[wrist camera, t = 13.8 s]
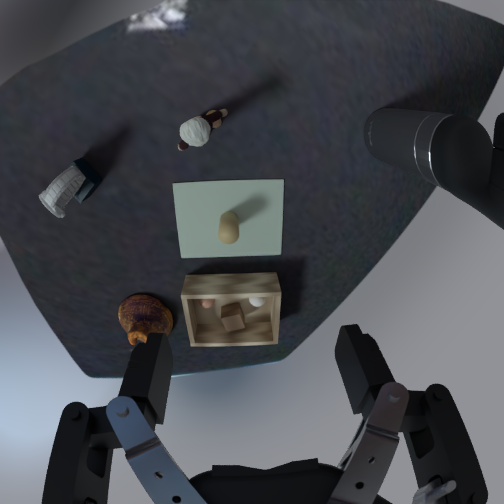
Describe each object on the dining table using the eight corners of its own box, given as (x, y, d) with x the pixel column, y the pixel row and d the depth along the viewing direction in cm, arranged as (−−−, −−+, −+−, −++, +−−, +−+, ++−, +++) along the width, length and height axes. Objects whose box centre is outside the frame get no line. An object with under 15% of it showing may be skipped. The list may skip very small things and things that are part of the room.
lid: (283, 178, 42) (290, 189, 37) (280, 252, 48) (286, 271, 43) (173, 182, 41) (164, 193, 36) (182, 255, 48) (175, 275, 42)
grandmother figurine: (211, 98, 35) (201, 91, 24) (232, 114, 37) (230, 113, 25) (178, 139, 38) (156, 149, 27) (198, 153, 39) (184, 170, 28)
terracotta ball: (214, 287, 50) (213, 297, 47) (216, 301, 51) (215, 311, 48) (198, 288, 49) (196, 298, 47) (200, 301, 51) (198, 311, 48)
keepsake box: (276, 272, 49) (281, 292, 44) (273, 322, 55) (277, 343, 50) (186, 274, 49) (181, 295, 43) (194, 324, 54) (191, 346, 49)
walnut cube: (239, 301, 51) (239, 314, 48) (244, 315, 53) (245, 327, 50) (221, 306, 52) (220, 318, 48) (227, 319, 53) (226, 331, 50)
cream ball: (265, 286, 50) (266, 296, 47) (264, 299, 51) (266, 309, 49) (248, 286, 50) (249, 296, 47) (248, 300, 51) (249, 310, 49)
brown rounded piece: (178, 301, 52) (171, 327, 45) (169, 342, 57) (164, 367, 50) (121, 285, 49) (108, 309, 43) (119, 327, 55) (109, 351, 48)
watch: (63, 183, 39) (27, 205, 29) (88, 149, 37) (50, 163, 27) (83, 205, 41) (50, 231, 31) (109, 172, 39) (75, 191, 29)
